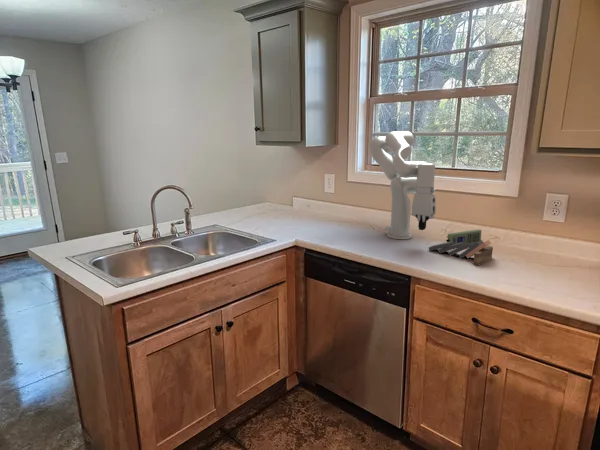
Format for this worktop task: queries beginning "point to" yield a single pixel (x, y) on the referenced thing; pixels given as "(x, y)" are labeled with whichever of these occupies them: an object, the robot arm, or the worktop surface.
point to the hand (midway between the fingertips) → (421, 229)
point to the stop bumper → (482, 255)
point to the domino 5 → (478, 248)
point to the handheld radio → (465, 236)
